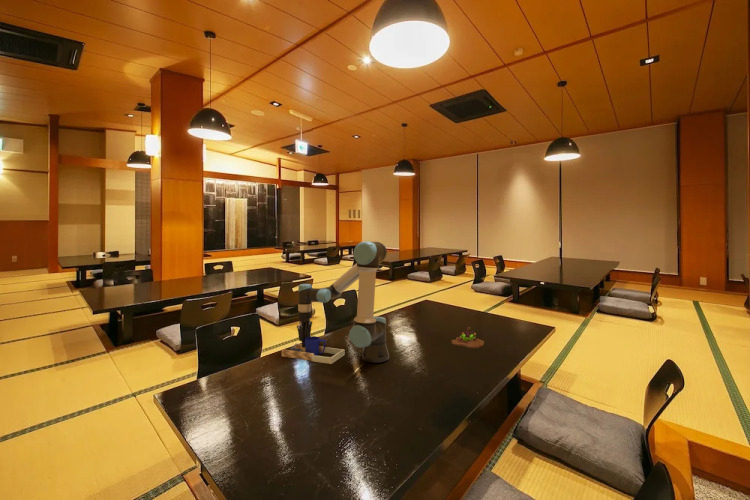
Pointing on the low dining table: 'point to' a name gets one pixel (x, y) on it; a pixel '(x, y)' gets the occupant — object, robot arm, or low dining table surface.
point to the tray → (329, 360)
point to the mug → (313, 345)
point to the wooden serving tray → (299, 353)
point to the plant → (468, 340)
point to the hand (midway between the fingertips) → (304, 352)
